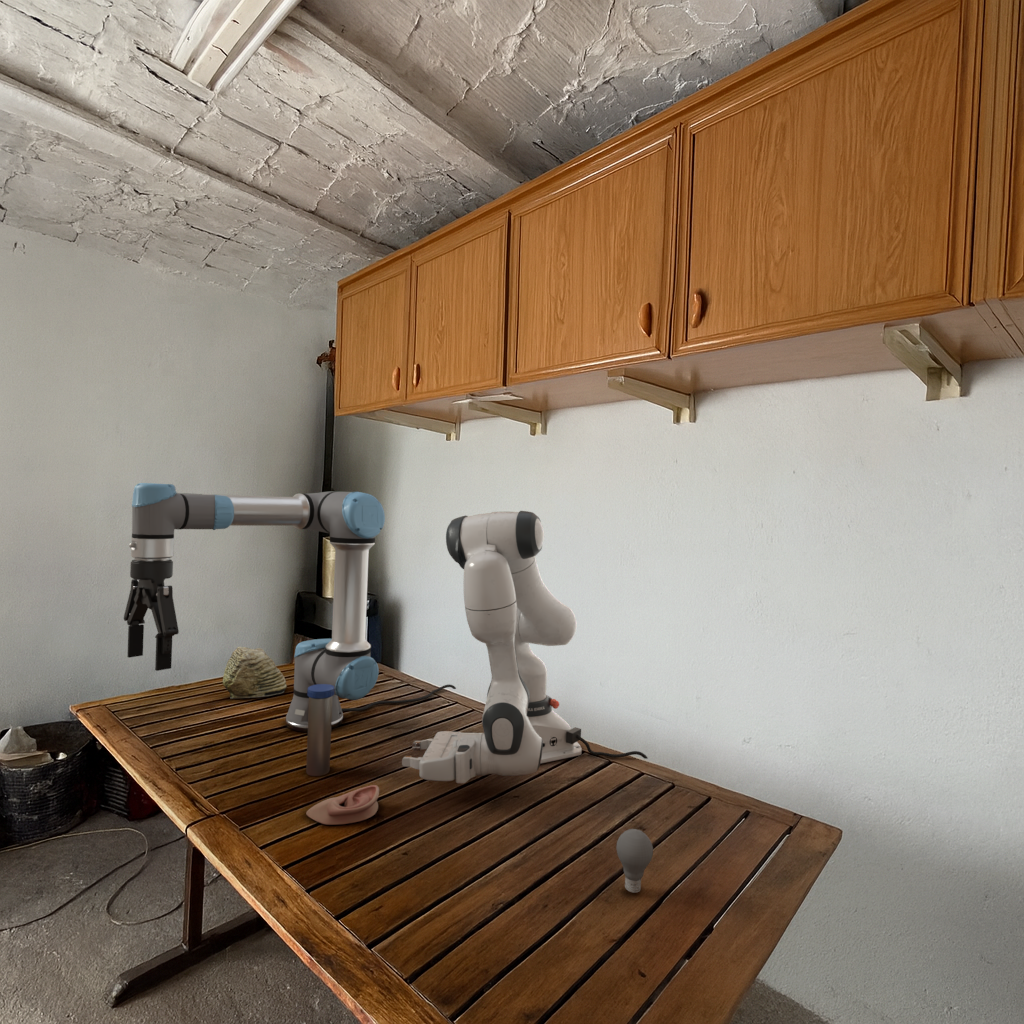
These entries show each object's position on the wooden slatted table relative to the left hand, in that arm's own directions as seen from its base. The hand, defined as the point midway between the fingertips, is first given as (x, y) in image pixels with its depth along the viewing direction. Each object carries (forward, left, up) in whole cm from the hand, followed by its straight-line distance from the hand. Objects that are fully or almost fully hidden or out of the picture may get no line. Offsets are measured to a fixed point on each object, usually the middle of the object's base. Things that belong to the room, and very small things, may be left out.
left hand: (148, 662), depth 129 cm
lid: (-32, +14, -9) cm, 36 cm away
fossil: (-50, -47, -28) cm, 74 cm away
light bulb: (-41, +90, -28) cm, 103 cm away
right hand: (-42, +33, -21) cm, 57 cm away
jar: (-32, +14, -28) cm, 45 cm away
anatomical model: (-24, +34, -28) cm, 50 cm away
